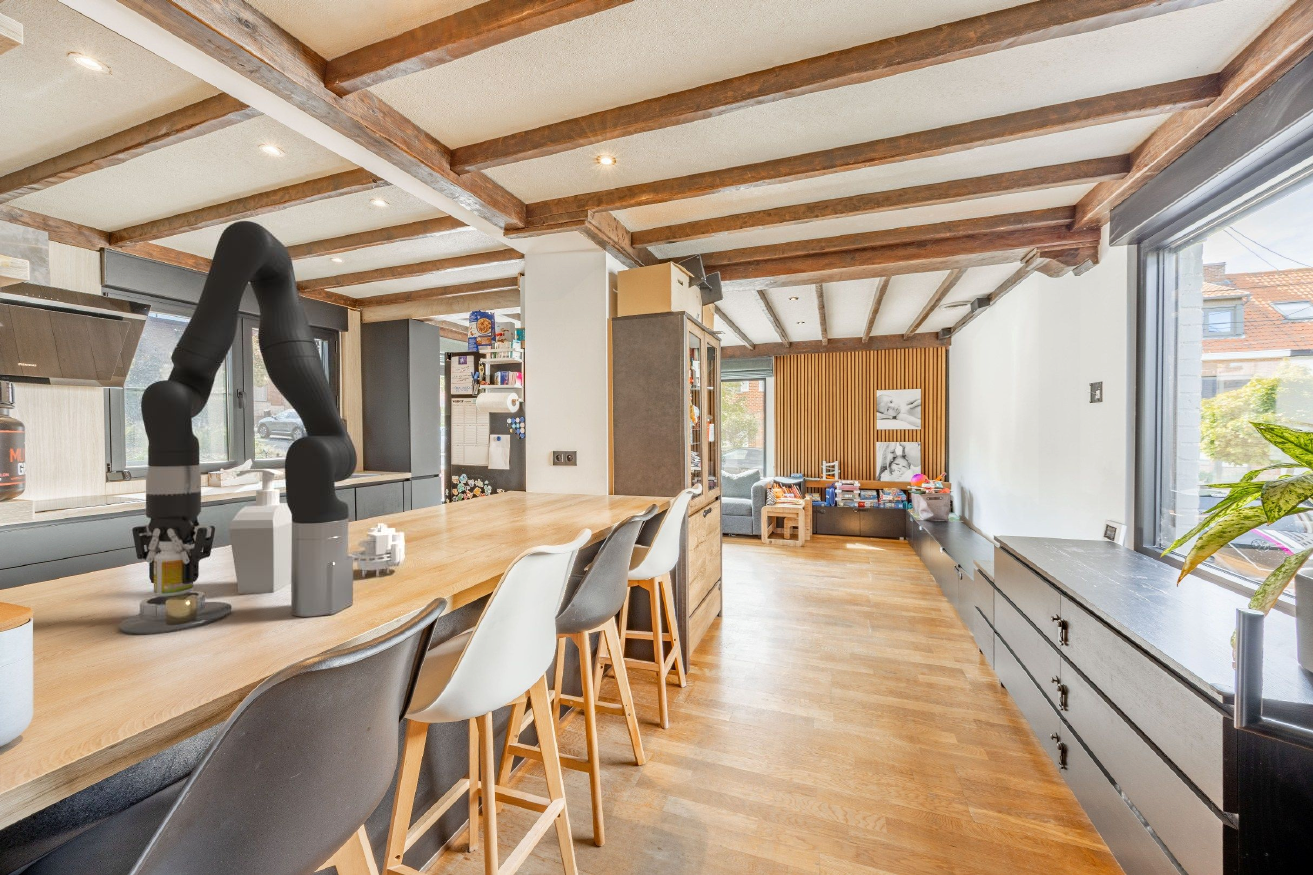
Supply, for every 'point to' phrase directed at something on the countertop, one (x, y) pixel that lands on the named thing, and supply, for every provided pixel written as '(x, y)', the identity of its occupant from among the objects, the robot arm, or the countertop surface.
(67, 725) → the countertop surface
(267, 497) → the soap bottle
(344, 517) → the robot arm
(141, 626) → the carrier plate
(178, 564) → the supplement bottle
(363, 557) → the mechanical part
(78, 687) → the countertop surface
